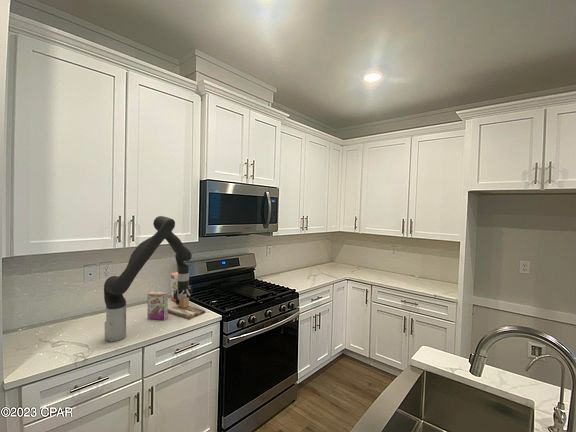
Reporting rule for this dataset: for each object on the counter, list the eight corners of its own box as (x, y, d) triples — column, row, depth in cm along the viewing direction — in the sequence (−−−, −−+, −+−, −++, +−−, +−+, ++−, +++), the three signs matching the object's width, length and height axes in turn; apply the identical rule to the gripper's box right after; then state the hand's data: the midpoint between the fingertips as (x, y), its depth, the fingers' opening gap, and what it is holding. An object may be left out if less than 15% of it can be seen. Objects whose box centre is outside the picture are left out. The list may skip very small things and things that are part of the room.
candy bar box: (147, 319, 179) (146, 293, 179) (151, 316, 184) (151, 291, 184) (164, 320, 178) (164, 294, 178) (168, 317, 183) (168, 292, 183)
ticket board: (188, 319, 180) (188, 315, 180) (165, 312, 191) (165, 308, 191) (205, 312, 192) (205, 308, 192) (182, 306, 203) (182, 302, 203)
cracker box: (170, 300, 215) (170, 272, 214) (178, 298, 219) (178, 271, 218) (180, 304, 206) (180, 276, 205) (187, 302, 210) (187, 274, 209)
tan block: (184, 308, 195) (184, 299, 195) (178, 306, 198) (178, 297, 198) (188, 306, 199) (188, 297, 199) (182, 304, 202) (182, 296, 202)
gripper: (178, 282, 190) (178, 306, 190) (195, 278, 202) (194, 300, 203) (170, 280, 193) (170, 304, 194) (187, 276, 206) (187, 298, 206)
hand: (183, 302), depth 198 cm, fingers open, 8 cm apart
